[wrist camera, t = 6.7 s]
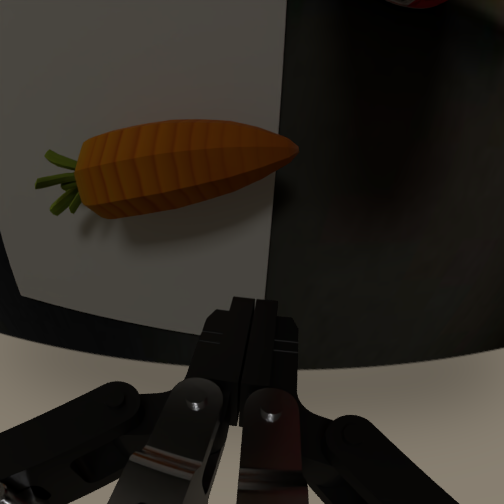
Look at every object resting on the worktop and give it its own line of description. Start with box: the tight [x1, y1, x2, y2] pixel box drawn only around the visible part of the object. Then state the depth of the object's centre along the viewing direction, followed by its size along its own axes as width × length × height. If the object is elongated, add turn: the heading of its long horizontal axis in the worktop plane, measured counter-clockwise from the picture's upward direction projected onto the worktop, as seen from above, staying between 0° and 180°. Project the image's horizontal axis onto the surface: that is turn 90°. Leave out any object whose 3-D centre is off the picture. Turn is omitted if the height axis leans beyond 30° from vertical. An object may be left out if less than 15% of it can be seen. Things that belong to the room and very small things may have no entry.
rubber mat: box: [0, 0, 287, 335], centre depth 18 cm, size 24×28×1 cm
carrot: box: [35, 119, 299, 219], centre depth 15 cm, size 5×5×15 cm
